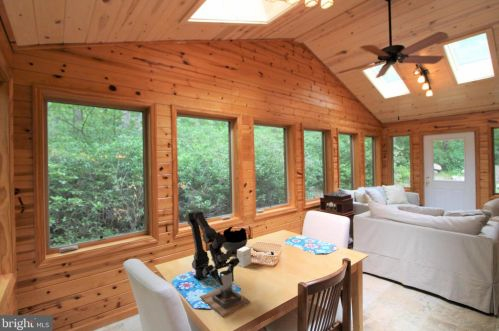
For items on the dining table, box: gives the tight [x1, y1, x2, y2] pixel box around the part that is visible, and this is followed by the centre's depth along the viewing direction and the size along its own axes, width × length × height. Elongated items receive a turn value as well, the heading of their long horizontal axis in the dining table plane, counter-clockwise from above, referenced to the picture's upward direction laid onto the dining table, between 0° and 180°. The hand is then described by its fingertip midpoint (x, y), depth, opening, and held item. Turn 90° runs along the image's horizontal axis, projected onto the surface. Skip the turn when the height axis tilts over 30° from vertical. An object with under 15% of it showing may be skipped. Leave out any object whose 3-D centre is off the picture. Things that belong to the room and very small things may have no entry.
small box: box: [236, 246, 252, 268], centre depth 165 cm, size 8×6×10 cm
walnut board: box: [199, 287, 251, 318], centre depth 123 cm, size 20×16×3 cm
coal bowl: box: [222, 226, 248, 254], centre depth 187 cm, size 20×20×19 cm
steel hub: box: [219, 270, 233, 299], centre depth 122 cm, size 6×6×11 cm
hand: (227, 283), depth 121 cm, fingers closed on steel hub, 6 cm apart
